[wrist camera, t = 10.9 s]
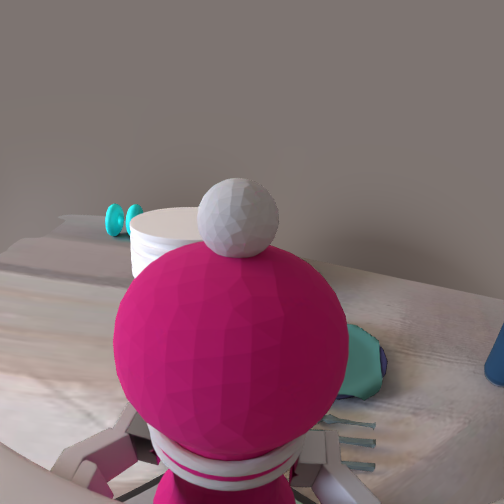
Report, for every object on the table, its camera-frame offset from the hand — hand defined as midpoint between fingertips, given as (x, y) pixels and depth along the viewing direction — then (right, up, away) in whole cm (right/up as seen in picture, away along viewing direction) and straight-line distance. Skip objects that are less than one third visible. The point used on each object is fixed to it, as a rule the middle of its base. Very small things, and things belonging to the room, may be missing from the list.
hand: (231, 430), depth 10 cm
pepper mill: (-1, -11, +3) cm, 11 cm away
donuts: (-38, +11, +83) cm, 92 cm away
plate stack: (-13, +3, +64) cm, 66 cm away
